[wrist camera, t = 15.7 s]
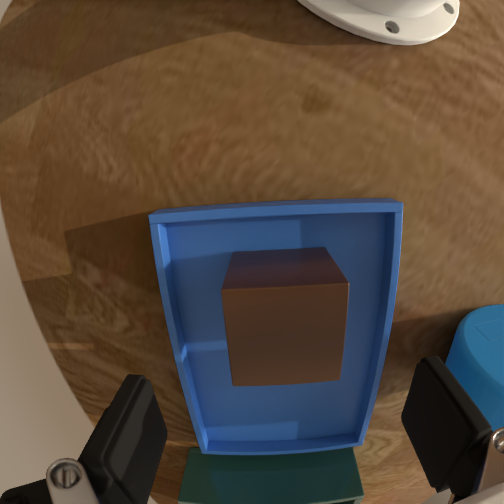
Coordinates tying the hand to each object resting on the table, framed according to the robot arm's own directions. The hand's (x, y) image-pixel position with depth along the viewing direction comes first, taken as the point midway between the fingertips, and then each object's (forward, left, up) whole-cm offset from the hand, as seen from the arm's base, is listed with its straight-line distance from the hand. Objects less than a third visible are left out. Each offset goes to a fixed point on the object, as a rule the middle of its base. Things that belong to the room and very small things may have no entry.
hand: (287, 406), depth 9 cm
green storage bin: (+22, -1, -9) cm, 24 cm away
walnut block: (-1, 0, -8) cm, 8 cm away
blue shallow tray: (+4, 0, -9) cm, 10 cm away
